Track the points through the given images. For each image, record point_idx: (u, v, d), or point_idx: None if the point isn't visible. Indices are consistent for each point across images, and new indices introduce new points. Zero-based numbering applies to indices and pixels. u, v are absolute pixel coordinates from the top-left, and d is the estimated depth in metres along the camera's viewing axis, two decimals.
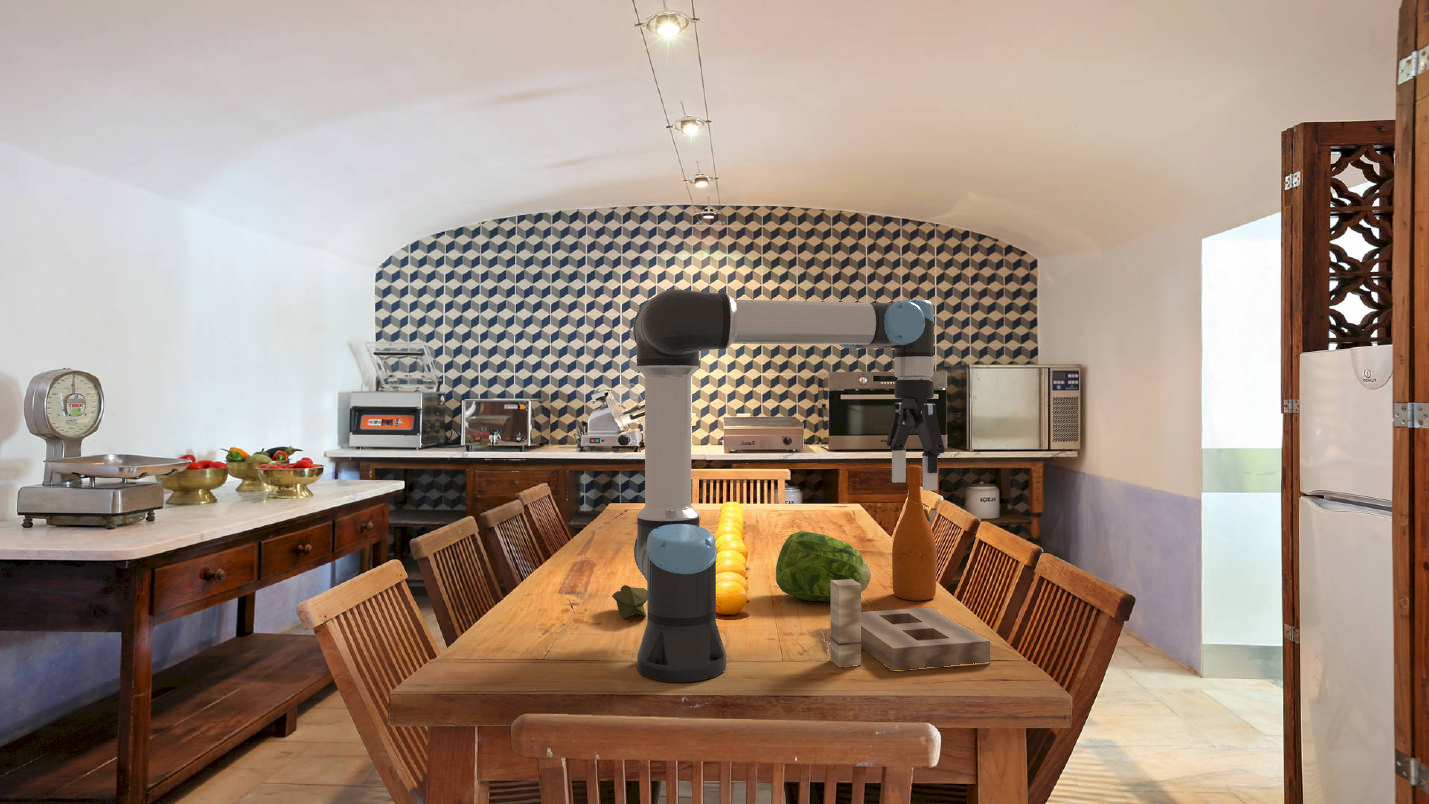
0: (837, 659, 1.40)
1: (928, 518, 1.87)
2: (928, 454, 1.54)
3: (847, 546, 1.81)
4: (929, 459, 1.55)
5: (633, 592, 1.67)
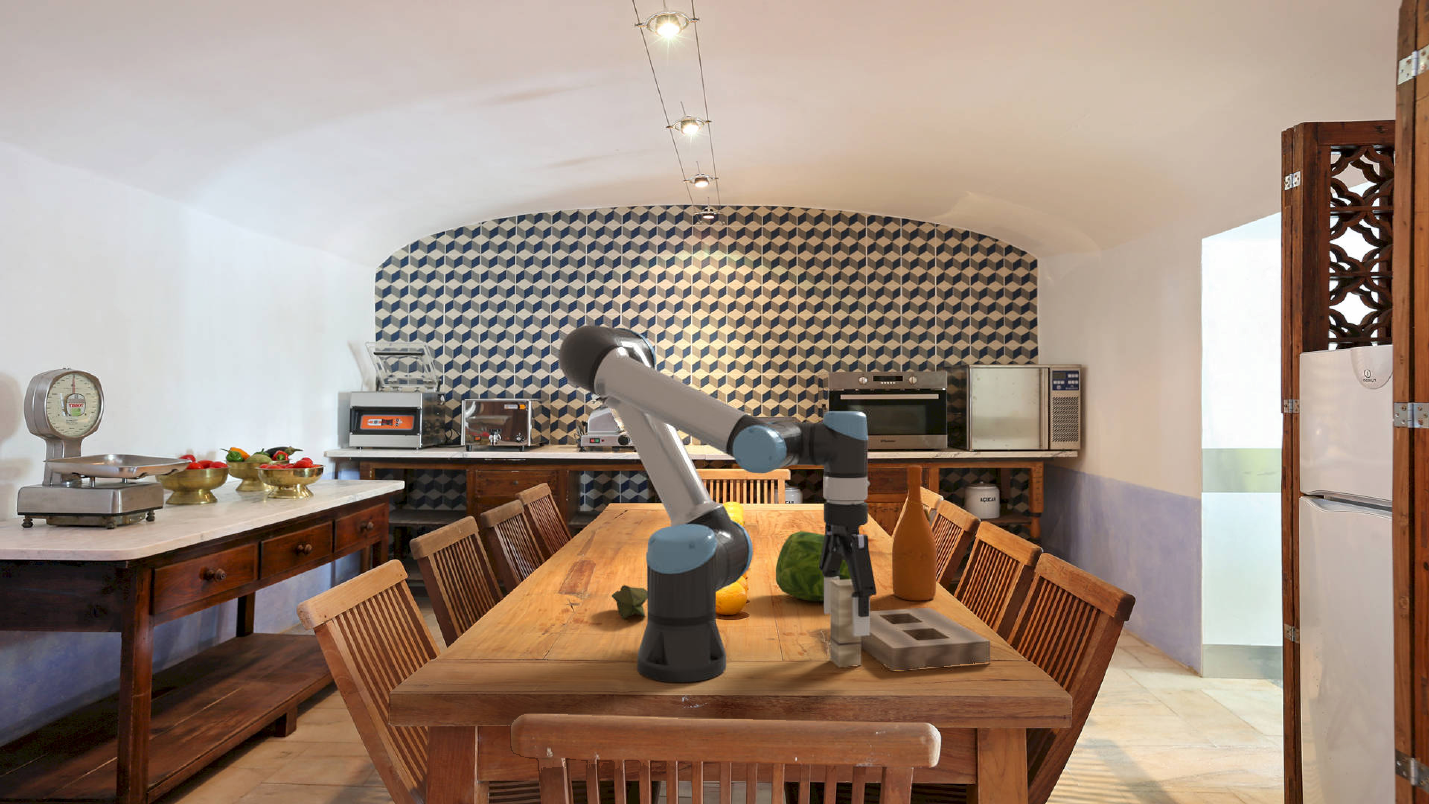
0: (837, 659, 1.40)
1: (928, 518, 1.87)
2: (858, 595, 1.33)
3: None
4: (859, 601, 1.34)
5: (632, 592, 1.67)
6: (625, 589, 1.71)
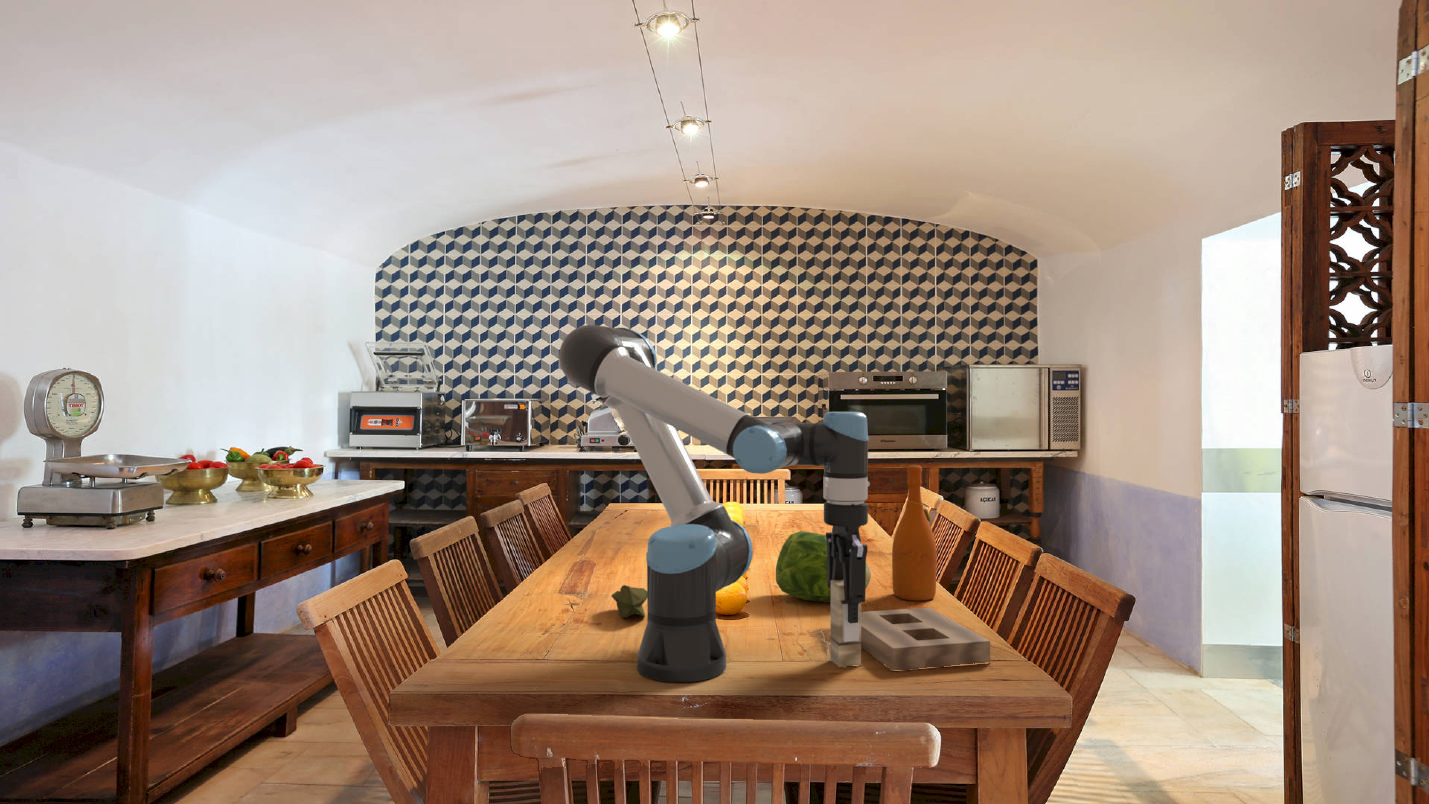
0: (837, 659, 1.40)
1: (928, 518, 1.87)
2: (847, 603, 1.38)
3: None
4: (848, 607, 1.38)
5: (632, 592, 1.67)
6: (625, 589, 1.71)
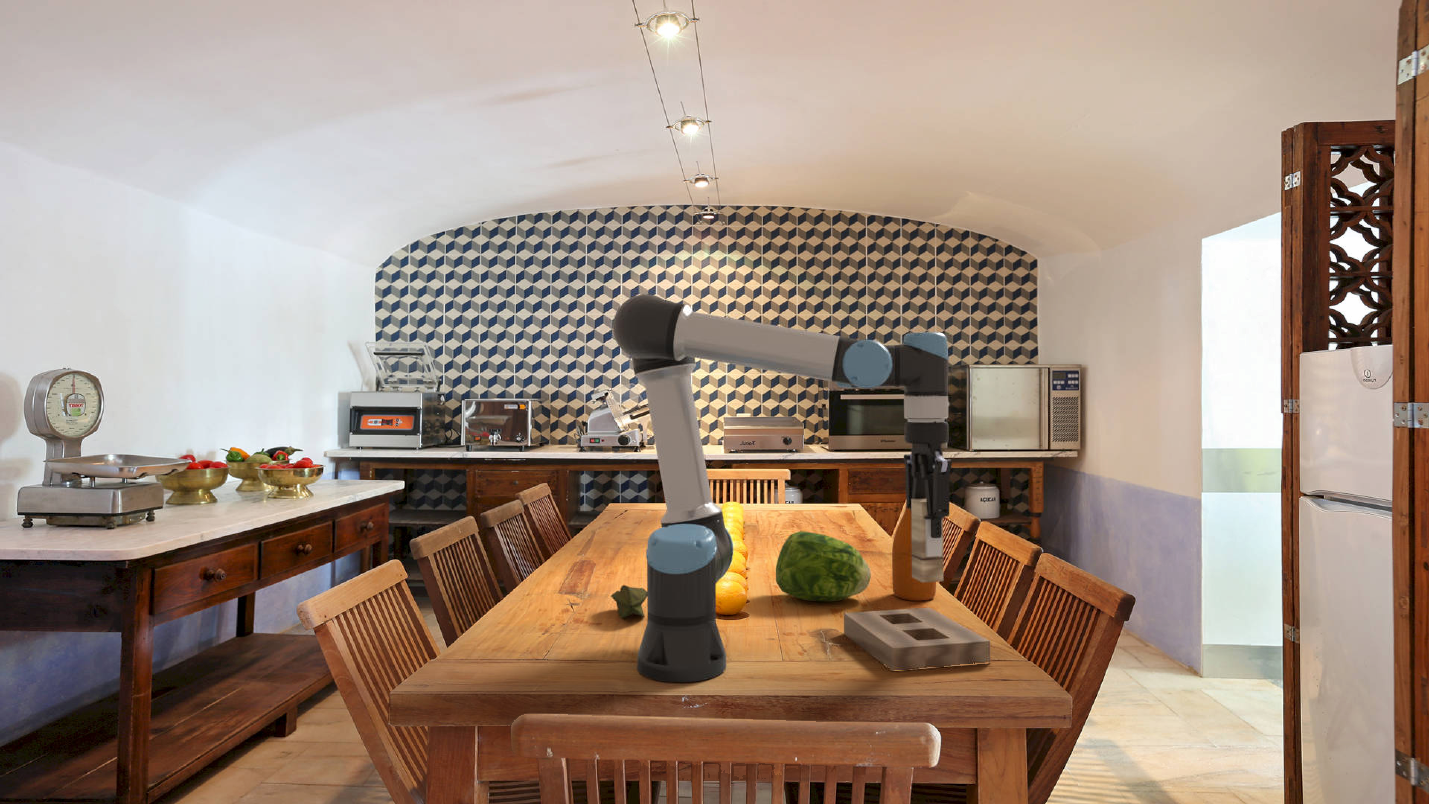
0: (920, 574, 1.43)
1: None
2: (931, 518, 1.41)
3: (847, 546, 1.81)
4: (932, 523, 1.41)
5: (631, 592, 1.67)
6: (624, 589, 1.71)
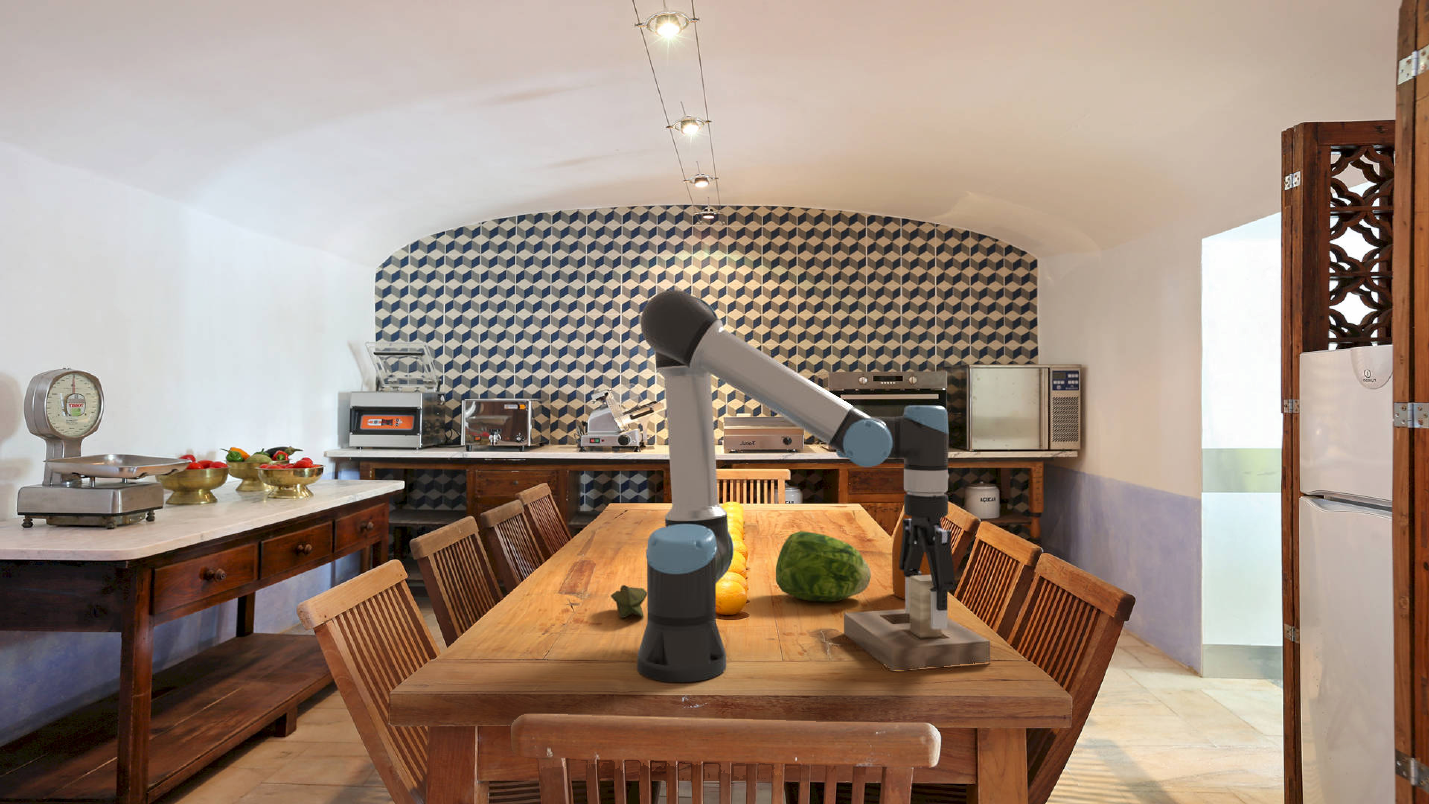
0: None
1: None
2: (937, 590, 1.38)
3: (847, 546, 1.81)
4: (938, 595, 1.39)
5: (630, 592, 1.67)
6: (624, 589, 1.71)
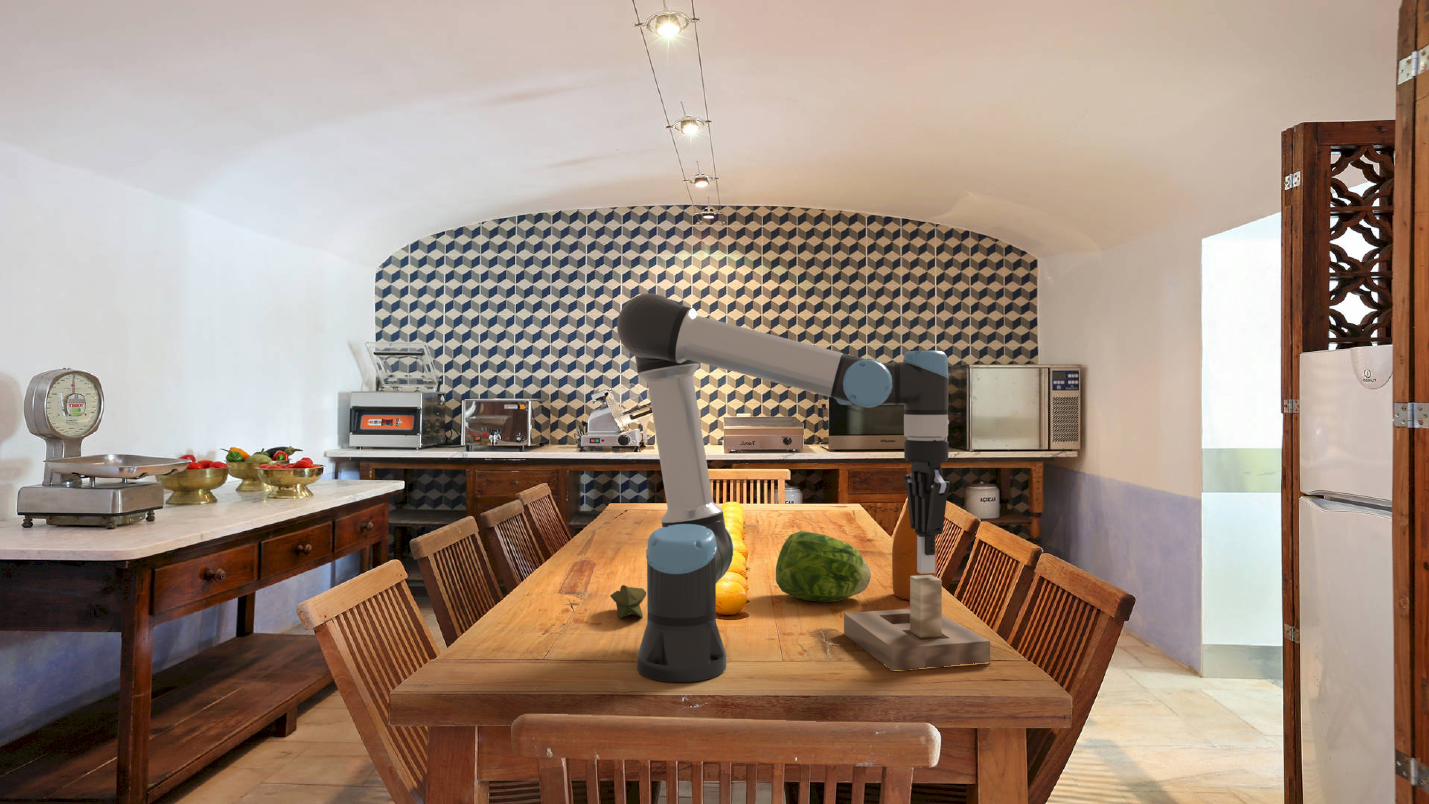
0: None
1: None
2: (924, 536, 1.43)
3: (847, 546, 1.81)
4: (925, 540, 1.43)
5: (629, 592, 1.67)
6: (623, 589, 1.71)
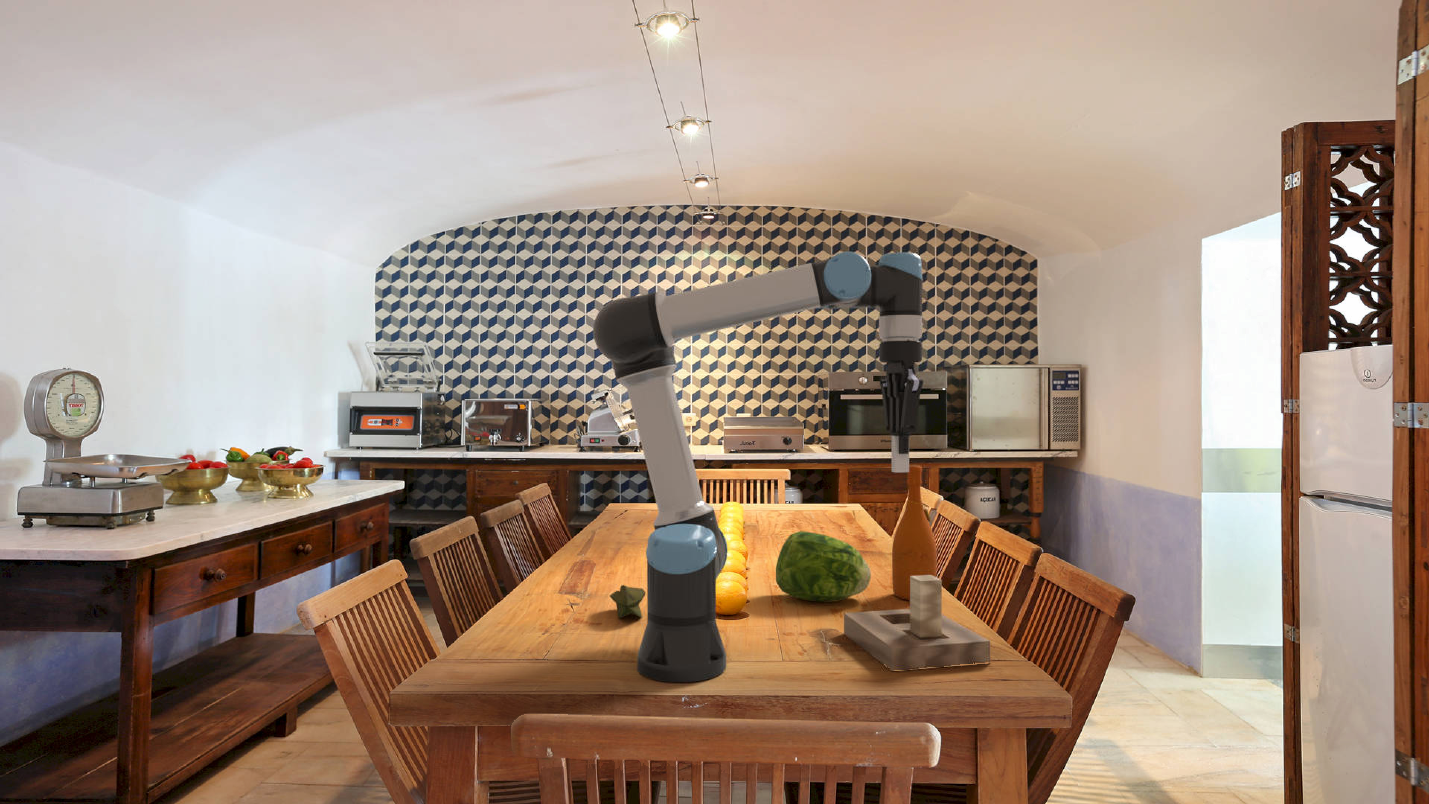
0: None
1: (928, 518, 1.87)
2: (898, 435, 1.46)
3: (847, 546, 1.81)
4: (899, 439, 1.46)
5: (627, 592, 1.67)
6: (622, 589, 1.71)
